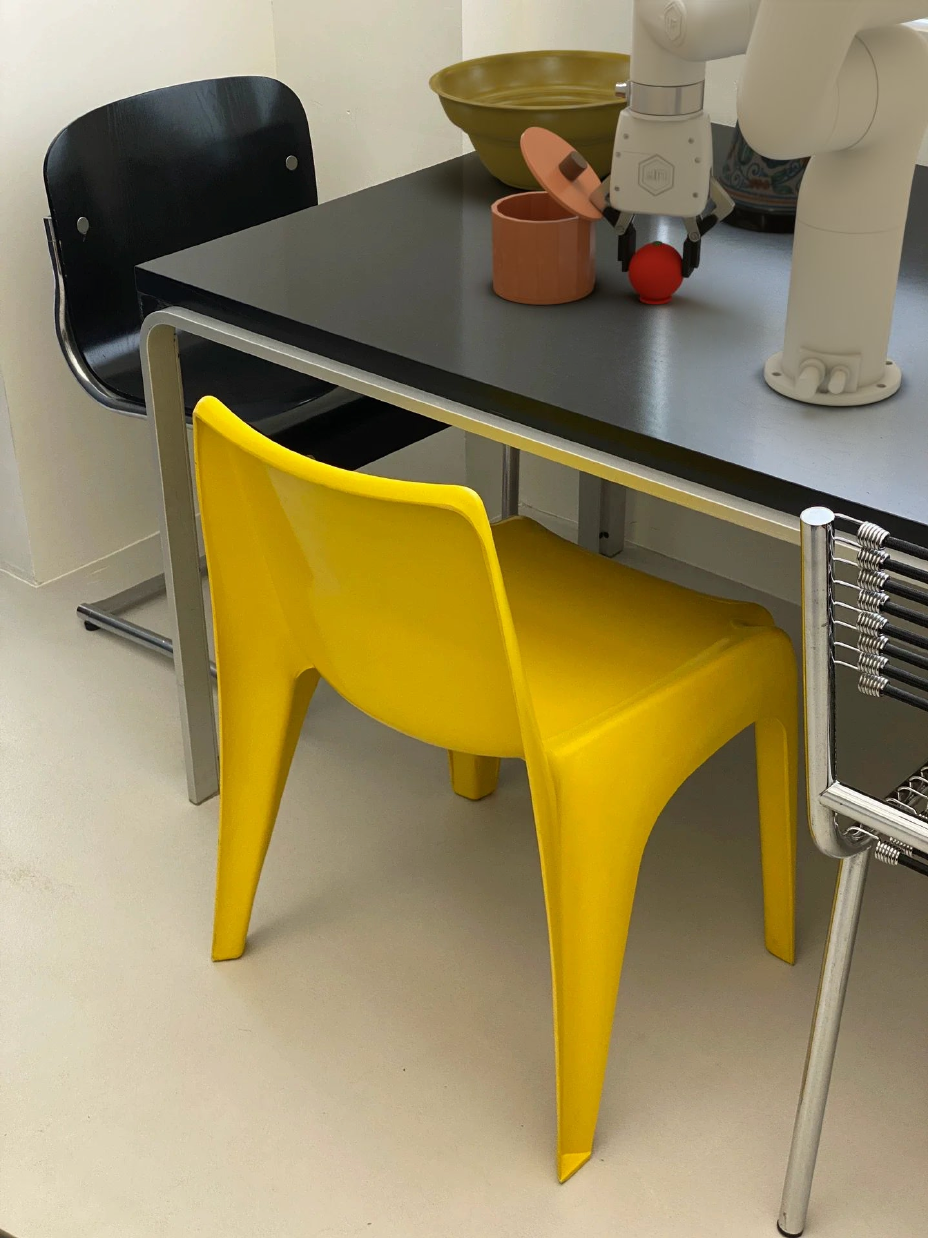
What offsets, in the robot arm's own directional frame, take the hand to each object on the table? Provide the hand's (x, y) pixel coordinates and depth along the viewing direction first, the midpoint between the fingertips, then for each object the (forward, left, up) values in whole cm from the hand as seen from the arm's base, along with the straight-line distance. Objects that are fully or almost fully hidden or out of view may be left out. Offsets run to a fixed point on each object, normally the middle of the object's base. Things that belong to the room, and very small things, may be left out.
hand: (658, 269), depth 153 cm
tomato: (-1, 0, -3) cm, 3 cm away
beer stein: (+33, -9, -3) cm, 34 cm away
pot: (0, +13, -3) cm, 13 cm away
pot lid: (0, +11, +9) cm, 14 cm away
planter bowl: (+41, +25, -3) cm, 48 cm away
